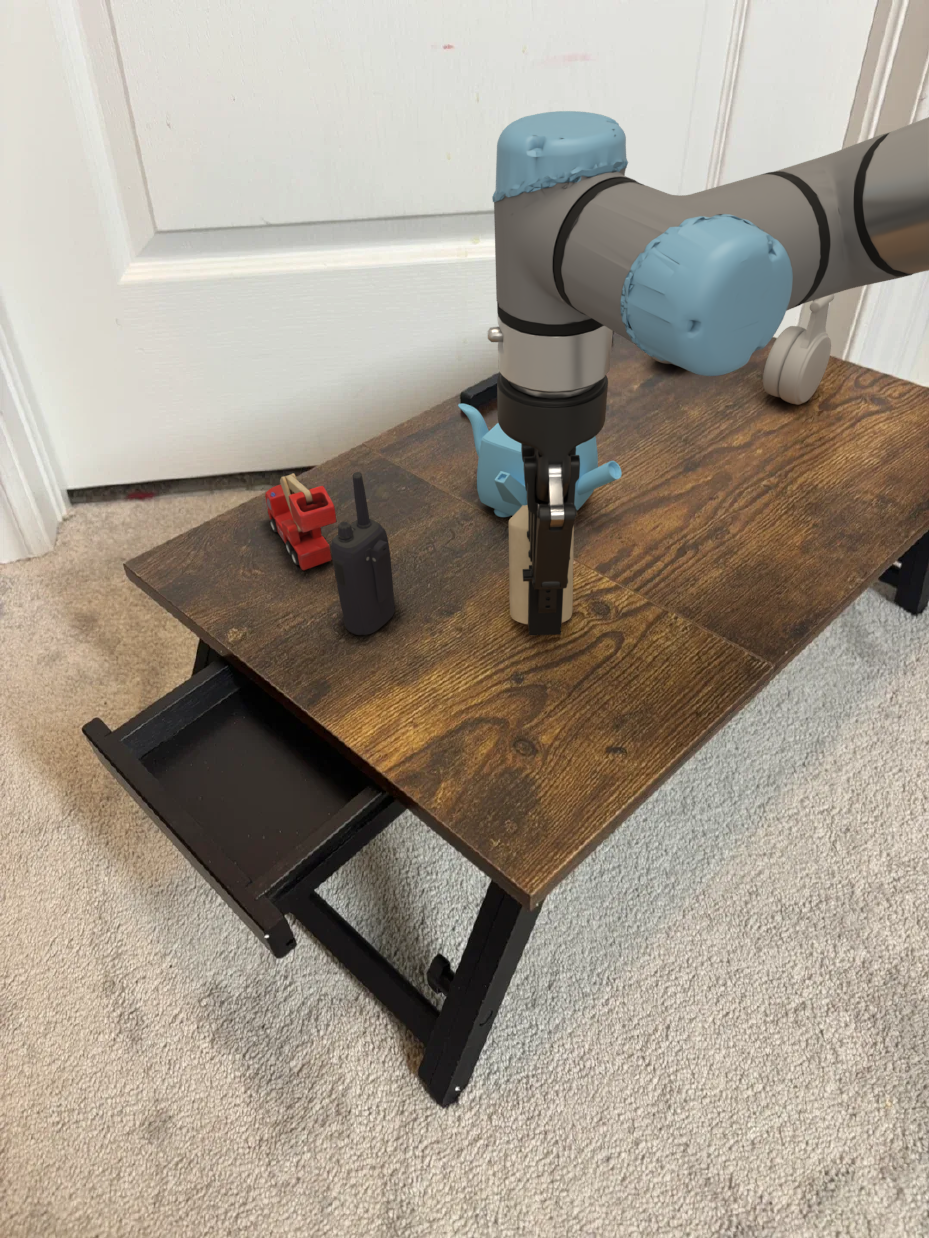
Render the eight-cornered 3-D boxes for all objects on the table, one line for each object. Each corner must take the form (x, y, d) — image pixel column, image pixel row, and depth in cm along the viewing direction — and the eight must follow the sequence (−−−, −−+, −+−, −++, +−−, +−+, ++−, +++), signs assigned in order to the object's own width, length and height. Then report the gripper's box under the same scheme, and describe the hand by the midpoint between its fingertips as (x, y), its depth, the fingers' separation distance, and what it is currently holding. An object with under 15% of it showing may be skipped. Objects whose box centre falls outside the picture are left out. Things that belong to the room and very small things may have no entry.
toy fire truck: (297, 511, 96) (281, 430, 90) (348, 585, 87) (334, 500, 81) (266, 521, 95) (248, 439, 89) (315, 597, 86) (298, 512, 80)
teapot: (642, 499, 95) (651, 412, 89) (578, 575, 87) (583, 485, 80) (492, 453, 103) (490, 369, 96) (420, 518, 94) (413, 432, 88)
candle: (552, 600, 85) (553, 493, 81) (584, 619, 80) (586, 506, 77) (498, 610, 83) (497, 501, 79) (528, 630, 78) (527, 515, 75)
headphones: (824, 389, 110) (865, 222, 98) (792, 418, 106) (831, 248, 93) (676, 345, 120) (695, 188, 107) (641, 370, 116) (657, 209, 103)
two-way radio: (376, 596, 86) (357, 457, 76) (414, 614, 84) (399, 474, 74) (336, 630, 83) (310, 490, 72) (374, 650, 81) (353, 508, 70)
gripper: (493, 333, 68) (496, 582, 83) (501, 423, 58) (503, 686, 74) (596, 329, 67) (580, 579, 83) (621, 419, 58) (598, 683, 74)
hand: (544, 629), depth 78 cm, fingers closed
